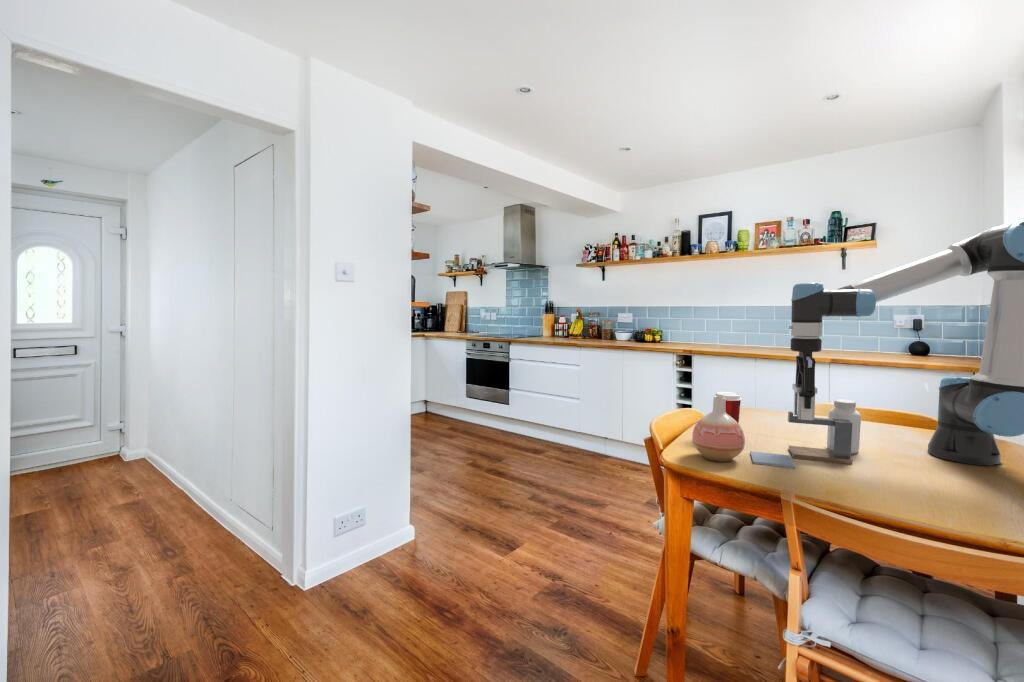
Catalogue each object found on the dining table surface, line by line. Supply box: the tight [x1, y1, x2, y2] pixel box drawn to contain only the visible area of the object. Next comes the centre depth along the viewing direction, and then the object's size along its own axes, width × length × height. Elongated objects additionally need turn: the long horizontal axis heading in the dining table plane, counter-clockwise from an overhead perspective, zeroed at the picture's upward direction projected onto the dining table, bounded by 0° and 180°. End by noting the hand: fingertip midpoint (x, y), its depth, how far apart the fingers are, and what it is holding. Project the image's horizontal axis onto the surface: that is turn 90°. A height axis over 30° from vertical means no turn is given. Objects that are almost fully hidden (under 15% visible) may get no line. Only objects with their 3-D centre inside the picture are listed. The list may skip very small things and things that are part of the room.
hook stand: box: [787, 411, 853, 465], centre depth 136 cm, size 15×9×12 cm, turn 68°
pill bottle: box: [826, 398, 862, 455], centre depth 142 cm, size 8×8×15 cm
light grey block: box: [791, 383, 818, 420], centre depth 137 cm, size 5×7×9 cm
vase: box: [691, 395, 746, 463], centre depth 134 cm, size 14×14×18 cm
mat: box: [749, 450, 796, 469], centre depth 133 cm, size 10×10×1 cm
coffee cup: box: [713, 391, 743, 425], centre depth 153 cm, size 8×8×15 cm
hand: (803, 416), depth 137 cm, fingers closed on light grey block, 7 cm apart
